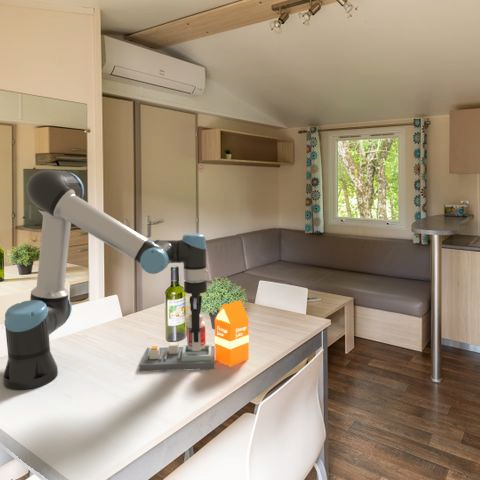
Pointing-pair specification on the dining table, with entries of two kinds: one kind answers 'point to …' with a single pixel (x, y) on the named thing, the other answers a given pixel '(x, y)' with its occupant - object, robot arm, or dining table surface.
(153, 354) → the block
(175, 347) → the toggle plain
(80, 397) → the dining table surface
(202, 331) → the pill bottle
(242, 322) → the orange juice
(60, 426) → the dining table surface
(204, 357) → the panel
